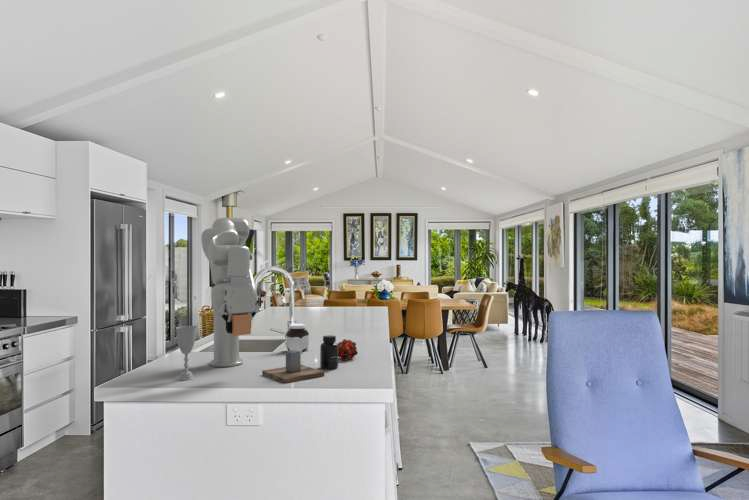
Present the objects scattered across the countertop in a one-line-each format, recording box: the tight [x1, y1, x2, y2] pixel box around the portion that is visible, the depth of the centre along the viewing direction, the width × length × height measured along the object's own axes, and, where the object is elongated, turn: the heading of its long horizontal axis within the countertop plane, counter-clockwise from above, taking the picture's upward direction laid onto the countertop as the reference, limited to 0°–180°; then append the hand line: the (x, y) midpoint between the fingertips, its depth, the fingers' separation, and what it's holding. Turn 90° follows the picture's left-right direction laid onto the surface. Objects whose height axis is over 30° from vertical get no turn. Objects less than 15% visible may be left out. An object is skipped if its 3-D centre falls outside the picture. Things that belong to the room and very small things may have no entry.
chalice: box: [174, 325, 198, 381], centre depth 185 cm, size 7×7×18 cm
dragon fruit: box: [337, 338, 359, 361], centre depth 218 cm, size 8×8×12 cm
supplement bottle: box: [319, 335, 339, 370], centre depth 202 cm, size 7×7×12 cm
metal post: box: [285, 350, 302, 373], centre depth 190 cm, size 4×4×7 cm
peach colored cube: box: [227, 313, 252, 336], centre depth 187 cm, size 6×6×7 cm
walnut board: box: [261, 364, 325, 384], centre depth 189 cm, size 16×16×2 cm
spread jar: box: [285, 323, 310, 353], centre depth 235 cm, size 12×11×12 cm
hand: (238, 331), depth 187 cm, fingers closed on peach colored cube, 6 cm apart
